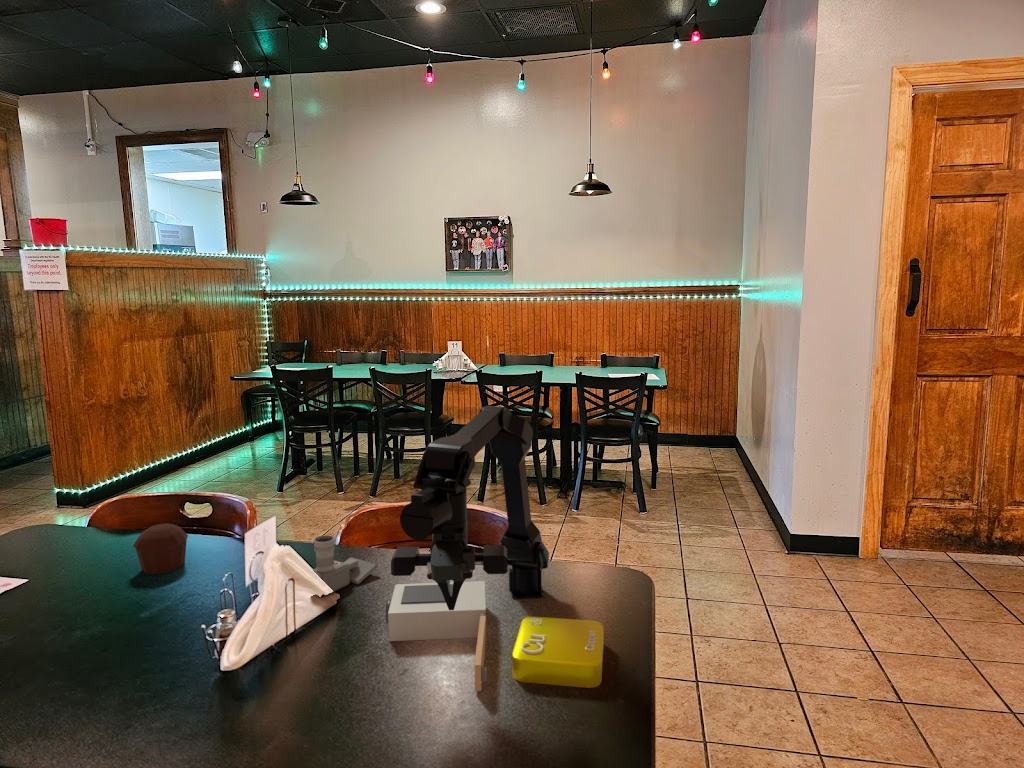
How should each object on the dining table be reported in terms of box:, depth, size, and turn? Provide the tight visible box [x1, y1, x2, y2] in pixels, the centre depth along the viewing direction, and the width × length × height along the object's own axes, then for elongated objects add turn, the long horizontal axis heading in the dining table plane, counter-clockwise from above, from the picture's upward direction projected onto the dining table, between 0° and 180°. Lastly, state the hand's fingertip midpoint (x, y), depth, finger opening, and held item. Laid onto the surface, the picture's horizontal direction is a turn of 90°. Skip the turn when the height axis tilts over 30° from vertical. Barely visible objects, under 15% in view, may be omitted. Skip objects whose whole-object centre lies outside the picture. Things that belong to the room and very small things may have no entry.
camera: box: [312, 534, 379, 592], centre depth 145 cm, size 9×12×15 cm
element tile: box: [511, 616, 605, 689], centre depth 114 cm, size 15×15×5 cm
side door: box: [473, 613, 487, 692], centre depth 113 cm, size 17×2×4 cm, turn 179°
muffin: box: [132, 523, 189, 575], centre depth 155 cm, size 12×11×10 cm
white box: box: [385, 580, 487, 642], centre depth 127 cm, size 19×12×6 cm, turn 93°
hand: (451, 609), depth 108 cm, fingers closed
